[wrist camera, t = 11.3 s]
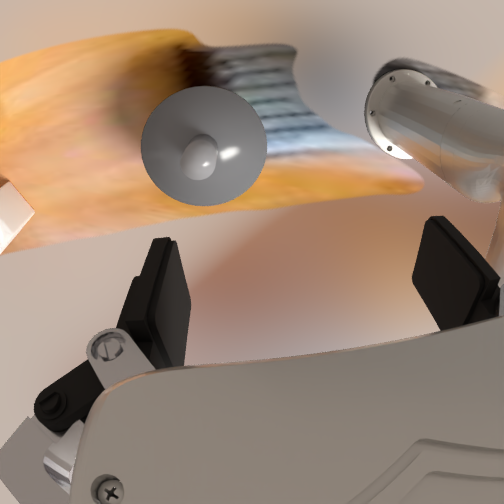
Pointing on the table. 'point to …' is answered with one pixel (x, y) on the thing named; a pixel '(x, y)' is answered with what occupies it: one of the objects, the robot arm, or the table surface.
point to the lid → (204, 146)
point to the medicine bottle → (12, 214)
